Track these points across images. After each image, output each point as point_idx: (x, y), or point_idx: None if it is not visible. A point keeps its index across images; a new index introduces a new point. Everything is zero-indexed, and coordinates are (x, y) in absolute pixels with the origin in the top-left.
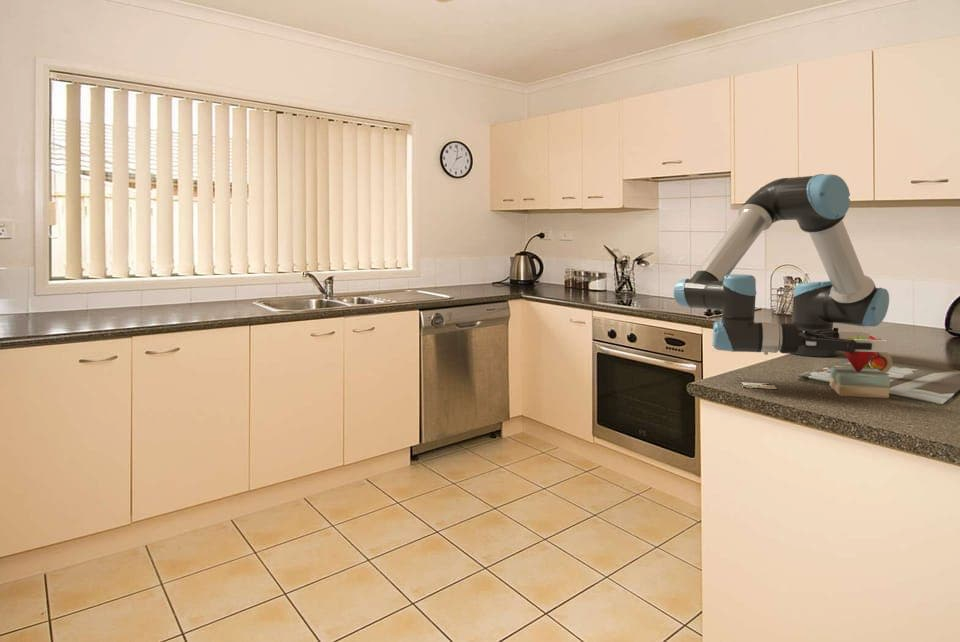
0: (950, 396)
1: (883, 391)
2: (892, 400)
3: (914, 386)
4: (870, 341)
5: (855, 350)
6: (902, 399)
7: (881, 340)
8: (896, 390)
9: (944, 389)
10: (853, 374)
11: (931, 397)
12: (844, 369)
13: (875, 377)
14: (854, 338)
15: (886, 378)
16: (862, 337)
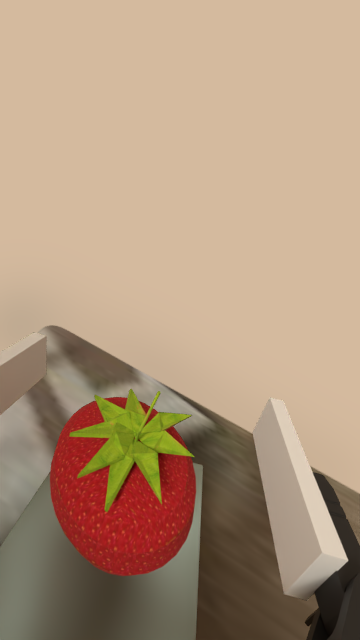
0: (157, 381)
1: None
2: (206, 506)
3: (82, 383)
4: (304, 464)
5: (308, 591)
6: None
7: (286, 417)
8: None
9: (112, 362)
10: (172, 602)
11: (166, 409)
12: (53, 583)
13: (199, 511)
14: (121, 454)
15: (201, 478)
16: (115, 406)
